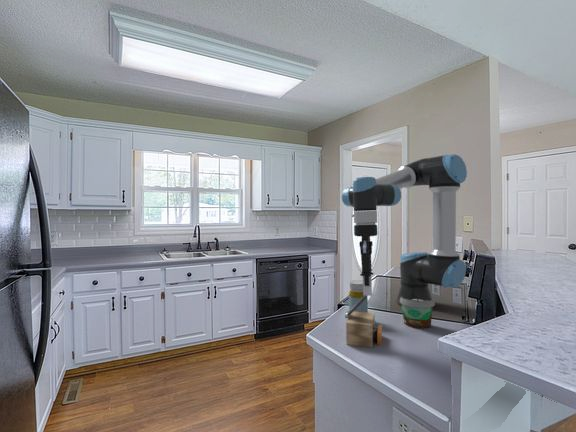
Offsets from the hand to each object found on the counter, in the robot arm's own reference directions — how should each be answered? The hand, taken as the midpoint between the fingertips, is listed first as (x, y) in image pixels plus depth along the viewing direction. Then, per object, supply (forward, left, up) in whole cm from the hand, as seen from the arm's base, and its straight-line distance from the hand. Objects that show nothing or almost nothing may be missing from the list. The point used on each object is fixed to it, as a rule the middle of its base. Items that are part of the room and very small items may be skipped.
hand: (367, 294), depth 105 cm
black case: (+1, -1, -15) cm, 15 cm away
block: (+2, -2, -15) cm, 15 cm away
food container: (-23, -2, -15) cm, 28 cm away
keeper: (+3, -2, -4) cm, 6 cm away
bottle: (-7, -16, -15) cm, 23 cm away
